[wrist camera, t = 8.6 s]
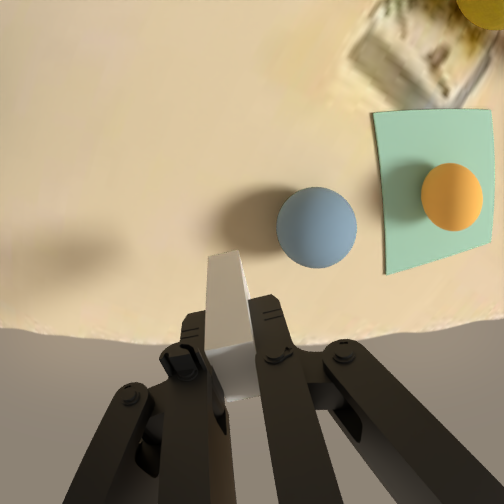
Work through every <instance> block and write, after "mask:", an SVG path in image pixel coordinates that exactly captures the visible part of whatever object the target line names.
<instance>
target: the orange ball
mask: <svg viewBox="0 0 504 504" xmlns="http://www.w3.org/2000/svg"><path fill="white" fill-rule="evenodd" d="M421 201H422V205H423V209H424V211H425V213H426V215H427V216H428V218H429V219H430V220H431V221H432V222H433V223H434V224H435V225H436V226H438V227H439V228H441V229H444V230H447V231H460V230H464V229H466V228H468V227H469V226H471V225H472V224H473V223H474V222H475V221H476V219H477V218H478V216H479V215H480V212H481V209H482V205H483V194H482V189H481V186H480V183H479V181H478V179H477V178H476V177H475V175H474V174H473V173H472V172H471V171H470V170H469V169H467V168H466V167H464V166H462V165H459V164H456V163H444V164H441V165H438V166H437V167H435V168H433V169H432V170H431V171H430V172H429V173H428V175H427V176H426V178H425V180H424V182H423V185H422V189H421Z"/></svg>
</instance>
